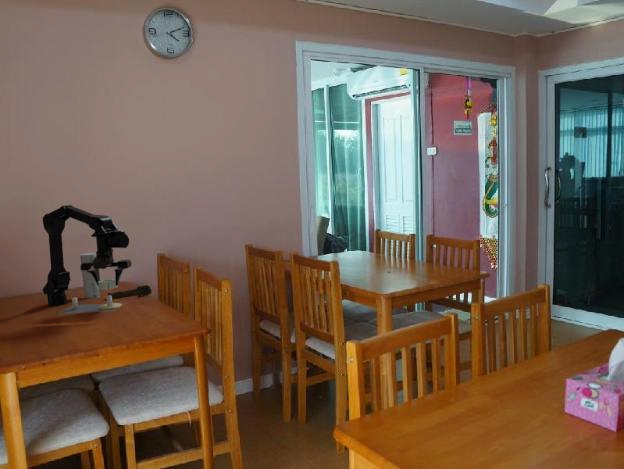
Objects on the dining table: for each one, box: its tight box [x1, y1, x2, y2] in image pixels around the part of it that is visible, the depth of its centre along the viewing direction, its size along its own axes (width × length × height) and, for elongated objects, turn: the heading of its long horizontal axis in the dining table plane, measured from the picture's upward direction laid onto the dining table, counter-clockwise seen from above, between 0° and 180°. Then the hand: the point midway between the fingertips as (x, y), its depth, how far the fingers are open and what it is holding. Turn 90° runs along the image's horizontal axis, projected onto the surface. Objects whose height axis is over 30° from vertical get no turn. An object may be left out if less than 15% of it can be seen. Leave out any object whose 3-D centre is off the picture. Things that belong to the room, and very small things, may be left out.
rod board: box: [58, 294, 125, 315], centre depth 230 cm, size 22×14×6 cm, turn 91°
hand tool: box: [107, 284, 152, 300], centre depth 251 cm, size 19×4×5 cm, turn 124°
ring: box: [98, 278, 118, 291], centre depth 229 cm, size 7×7×3 cm
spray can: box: [79, 252, 100, 299], centre depth 253 cm, size 6×6×20 cm
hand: (108, 286), depth 229 cm, fingers closed on ring, 7 cm apart
